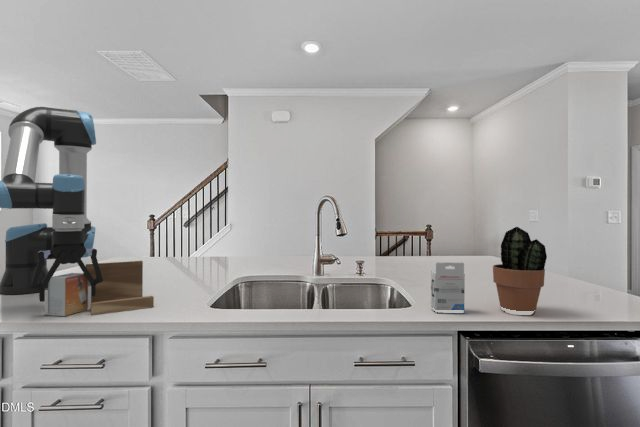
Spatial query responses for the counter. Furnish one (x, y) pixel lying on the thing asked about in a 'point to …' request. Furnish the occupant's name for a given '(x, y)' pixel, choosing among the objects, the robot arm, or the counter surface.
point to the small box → (67, 294)
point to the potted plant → (520, 271)
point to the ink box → (448, 287)
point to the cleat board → (119, 288)
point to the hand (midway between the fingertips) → (68, 310)
